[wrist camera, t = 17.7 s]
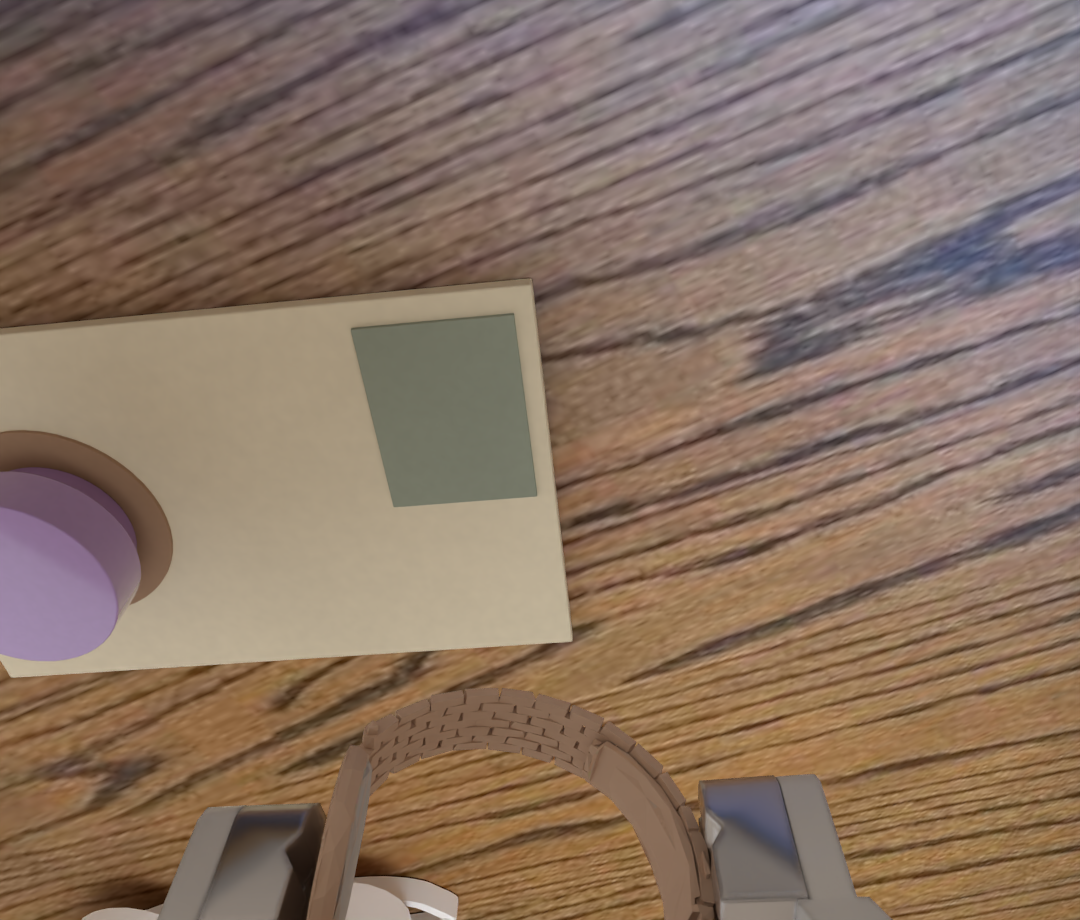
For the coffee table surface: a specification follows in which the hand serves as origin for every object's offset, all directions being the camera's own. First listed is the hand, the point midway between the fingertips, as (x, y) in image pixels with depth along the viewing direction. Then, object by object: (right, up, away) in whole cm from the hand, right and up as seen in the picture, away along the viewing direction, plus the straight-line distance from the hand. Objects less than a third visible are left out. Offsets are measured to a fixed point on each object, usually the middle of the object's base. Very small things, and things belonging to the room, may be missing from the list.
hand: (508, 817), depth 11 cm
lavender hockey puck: (-16, +2, +17) cm, 24 cm away
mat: (-10, +3, +18) cm, 20 cm away
